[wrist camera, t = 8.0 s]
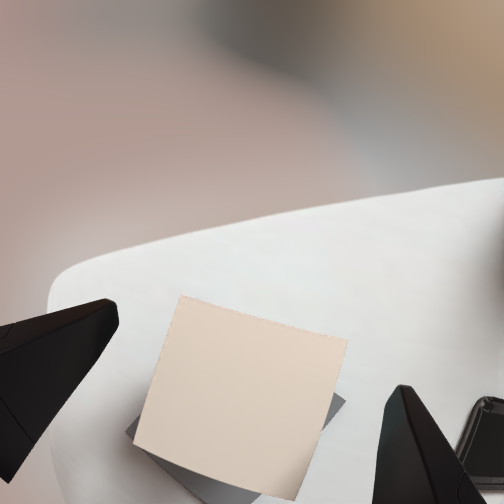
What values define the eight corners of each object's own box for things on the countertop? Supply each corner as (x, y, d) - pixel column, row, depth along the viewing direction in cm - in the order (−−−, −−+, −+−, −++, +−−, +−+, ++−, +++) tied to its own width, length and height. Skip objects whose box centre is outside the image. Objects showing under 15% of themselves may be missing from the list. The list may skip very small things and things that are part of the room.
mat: (232, 516, 15) (230, 520, 14) (130, 430, 18) (125, 431, 18) (343, 399, 18) (346, 400, 17) (229, 314, 21) (227, 312, 20)
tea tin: (291, 437, 17) (294, 500, 7) (207, 412, 18) (132, 443, 8) (316, 356, 19) (347, 340, 9) (233, 334, 20) (181, 294, 10)
